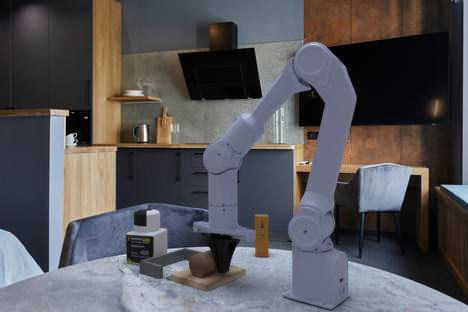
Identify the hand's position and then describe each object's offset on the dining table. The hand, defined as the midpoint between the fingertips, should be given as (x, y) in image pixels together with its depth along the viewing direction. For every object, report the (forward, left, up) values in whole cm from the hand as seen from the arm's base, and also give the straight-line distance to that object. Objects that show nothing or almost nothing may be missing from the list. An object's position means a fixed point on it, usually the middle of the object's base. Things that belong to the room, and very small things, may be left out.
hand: (223, 272), depth 79 cm
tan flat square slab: (+5, 0, -2) cm, 5 cm away
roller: (+3, 0, +2) cm, 4 cm away
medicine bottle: (+23, 0, -2) cm, 23 cm away
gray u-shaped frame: (+14, 0, -2) cm, 15 cm away
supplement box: (+4, -20, -2) cm, 21 cm away
